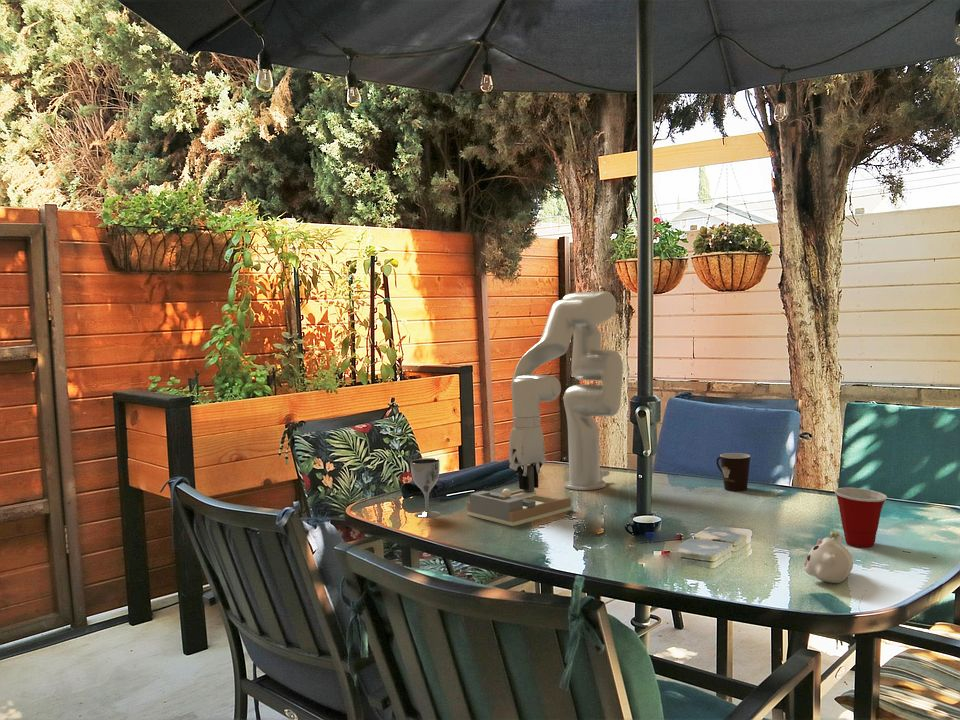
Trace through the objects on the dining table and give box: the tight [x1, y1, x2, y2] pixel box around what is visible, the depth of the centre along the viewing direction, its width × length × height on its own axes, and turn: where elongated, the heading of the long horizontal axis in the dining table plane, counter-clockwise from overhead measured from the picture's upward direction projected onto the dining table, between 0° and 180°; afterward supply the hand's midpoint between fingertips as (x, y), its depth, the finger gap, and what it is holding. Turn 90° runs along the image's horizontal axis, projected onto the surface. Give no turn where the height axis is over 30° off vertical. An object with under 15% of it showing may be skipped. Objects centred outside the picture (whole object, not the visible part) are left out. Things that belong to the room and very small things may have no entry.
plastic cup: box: [834, 487, 888, 549], centre depth 186 cm, size 11×11×12 cm
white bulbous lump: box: [804, 530, 854, 584], centre depth 164 cm, size 10×8×15 cm
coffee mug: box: [716, 452, 751, 493], centre depth 246 cm, size 12×9×10 cm
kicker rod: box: [489, 464, 537, 507], centre depth 227 cm, size 12×18×11 cm, turn 41°
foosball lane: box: [466, 489, 572, 527], centre depth 227 cm, size 22×18×6 cm
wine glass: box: [410, 457, 441, 519], centre depth 228 cm, size 8×8×15 cm
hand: (528, 487), depth 229 cm, fingers closed on kicker rod, 3 cm apart
